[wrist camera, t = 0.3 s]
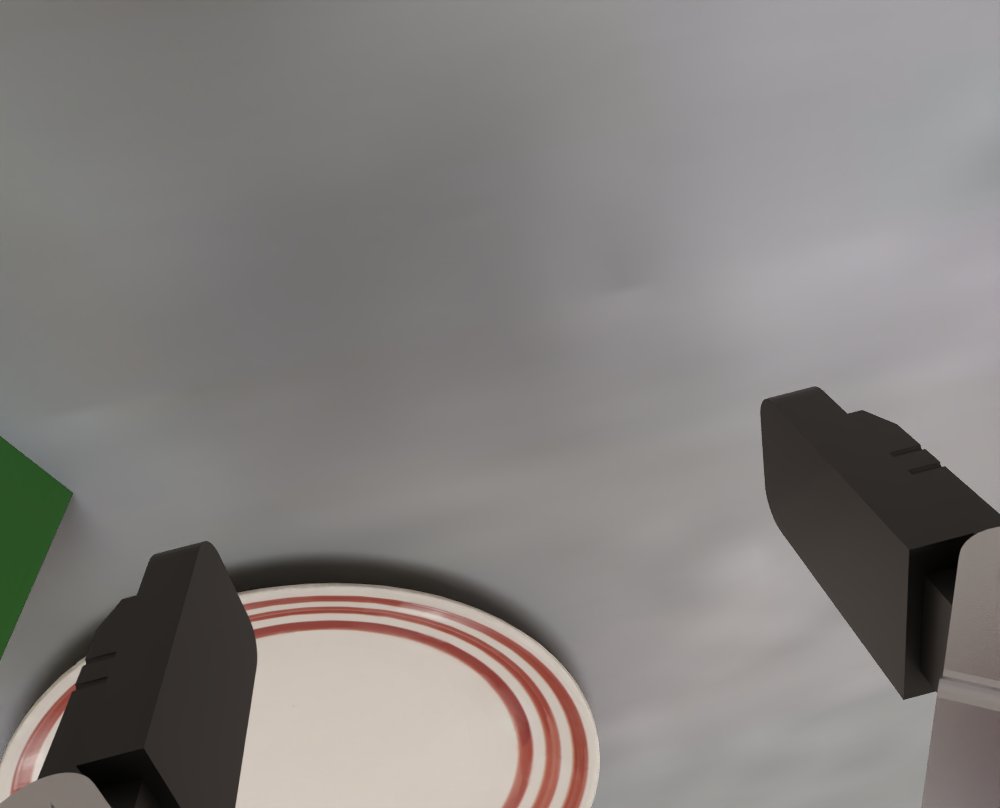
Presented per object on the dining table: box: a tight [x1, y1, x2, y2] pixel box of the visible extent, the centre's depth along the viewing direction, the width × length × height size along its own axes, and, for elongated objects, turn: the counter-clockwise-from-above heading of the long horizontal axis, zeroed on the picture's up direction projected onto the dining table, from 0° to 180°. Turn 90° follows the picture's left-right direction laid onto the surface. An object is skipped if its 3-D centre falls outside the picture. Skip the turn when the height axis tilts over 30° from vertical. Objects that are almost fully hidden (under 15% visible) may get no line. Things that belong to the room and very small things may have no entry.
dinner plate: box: [0, 583, 600, 808], centre depth 41 cm, size 28×27×3 cm
